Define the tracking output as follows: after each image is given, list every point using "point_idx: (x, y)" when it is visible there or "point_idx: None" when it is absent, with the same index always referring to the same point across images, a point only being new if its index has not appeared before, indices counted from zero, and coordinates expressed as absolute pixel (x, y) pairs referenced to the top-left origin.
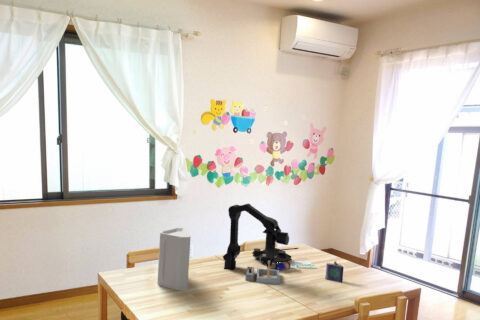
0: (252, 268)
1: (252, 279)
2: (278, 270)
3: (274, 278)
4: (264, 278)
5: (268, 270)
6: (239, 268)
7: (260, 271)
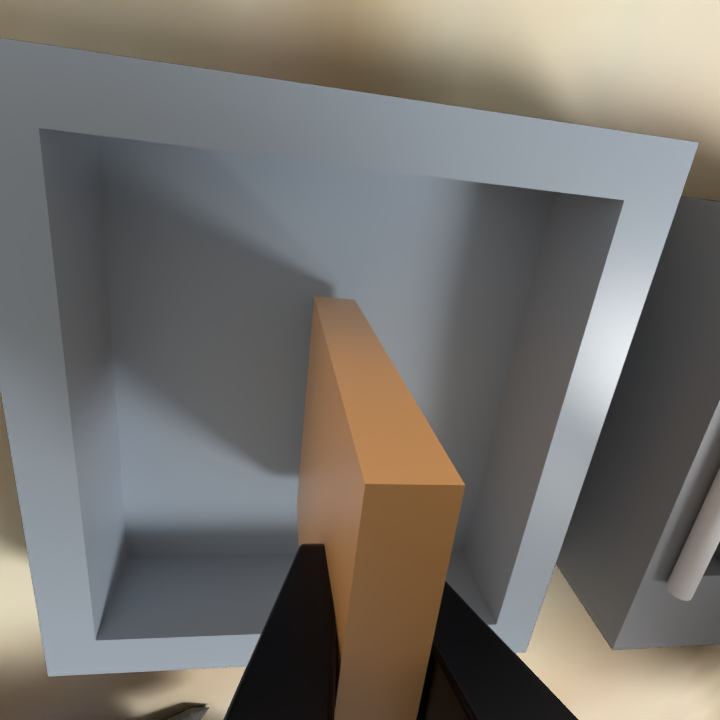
0: (701, 565)
1: (712, 202)
2: (55, 661)
3: (161, 114)
4: (487, 113)
5: (378, 379)
6: (693, 662)
7: (453, 587)
